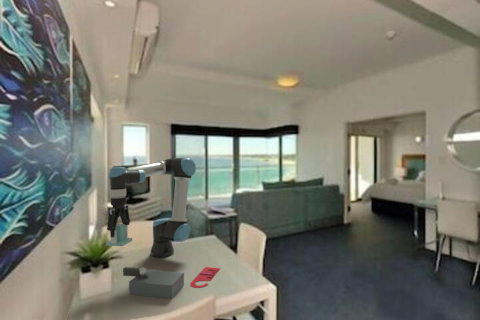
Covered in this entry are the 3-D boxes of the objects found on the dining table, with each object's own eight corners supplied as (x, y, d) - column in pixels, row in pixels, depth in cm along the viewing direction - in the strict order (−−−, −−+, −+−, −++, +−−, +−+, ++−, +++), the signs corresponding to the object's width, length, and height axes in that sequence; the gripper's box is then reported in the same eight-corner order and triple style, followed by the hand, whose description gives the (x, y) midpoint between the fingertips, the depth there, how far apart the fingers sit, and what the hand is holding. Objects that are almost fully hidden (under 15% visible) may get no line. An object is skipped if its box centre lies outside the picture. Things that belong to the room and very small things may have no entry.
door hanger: (220, 268, 162) (204, 288, 138) (220, 269, 162) (204, 289, 138) (205, 266, 165) (187, 286, 141) (205, 267, 165) (187, 287, 141)
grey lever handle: (147, 275, 140) (146, 267, 139) (144, 278, 137) (143, 269, 136) (125, 274, 141) (125, 266, 141) (122, 277, 138) (122, 268, 138)
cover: (116, 240, 150) (116, 222, 150) (132, 240, 149) (131, 223, 149) (106, 245, 142) (105, 226, 141) (122, 246, 140) (121, 227, 140)
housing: (144, 281, 148) (144, 269, 147) (184, 284, 143) (183, 272, 143) (129, 294, 134) (129, 281, 134) (172, 298, 130) (172, 284, 129)
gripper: (124, 193, 156) (125, 233, 157) (97, 200, 135) (99, 246, 135) (136, 194, 155) (137, 234, 155) (111, 200, 133) (113, 247, 134)
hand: (119, 240), depth 145 cm, fingers closed on cover, 9 cm apart
